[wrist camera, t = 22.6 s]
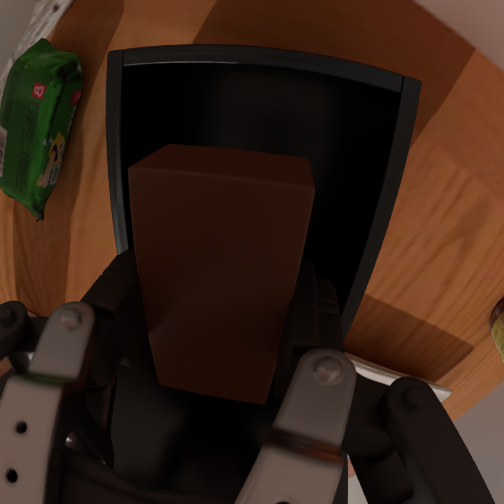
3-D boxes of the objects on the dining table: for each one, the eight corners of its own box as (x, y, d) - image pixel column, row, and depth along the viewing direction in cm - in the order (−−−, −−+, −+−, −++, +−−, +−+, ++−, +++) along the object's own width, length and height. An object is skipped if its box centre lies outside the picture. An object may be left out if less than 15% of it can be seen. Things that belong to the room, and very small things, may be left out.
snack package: (17, 182, 24) (-16, 203, 20) (50, 36, 16) (9, 38, 12) (62, 211, 26) (29, 237, 21) (107, 54, 18) (66, 54, 13)
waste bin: (182, 59, 18) (107, 51, 9) (365, 80, 17) (422, 81, 9) (178, 239, 25) (129, 318, 17) (327, 261, 25) (339, 353, 17)
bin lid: (21, 557, 4) (71, 561, 7) (336, 631, 3) (302, 612, 6) (124, 318, 16) (140, 370, 20) (342, 354, 16) (317, 401, 19)
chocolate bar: (167, 143, 8) (126, 167, 6) (309, 158, 8) (316, 188, 6) (177, 338, 12) (158, 384, 10) (270, 354, 12) (265, 405, 10)
